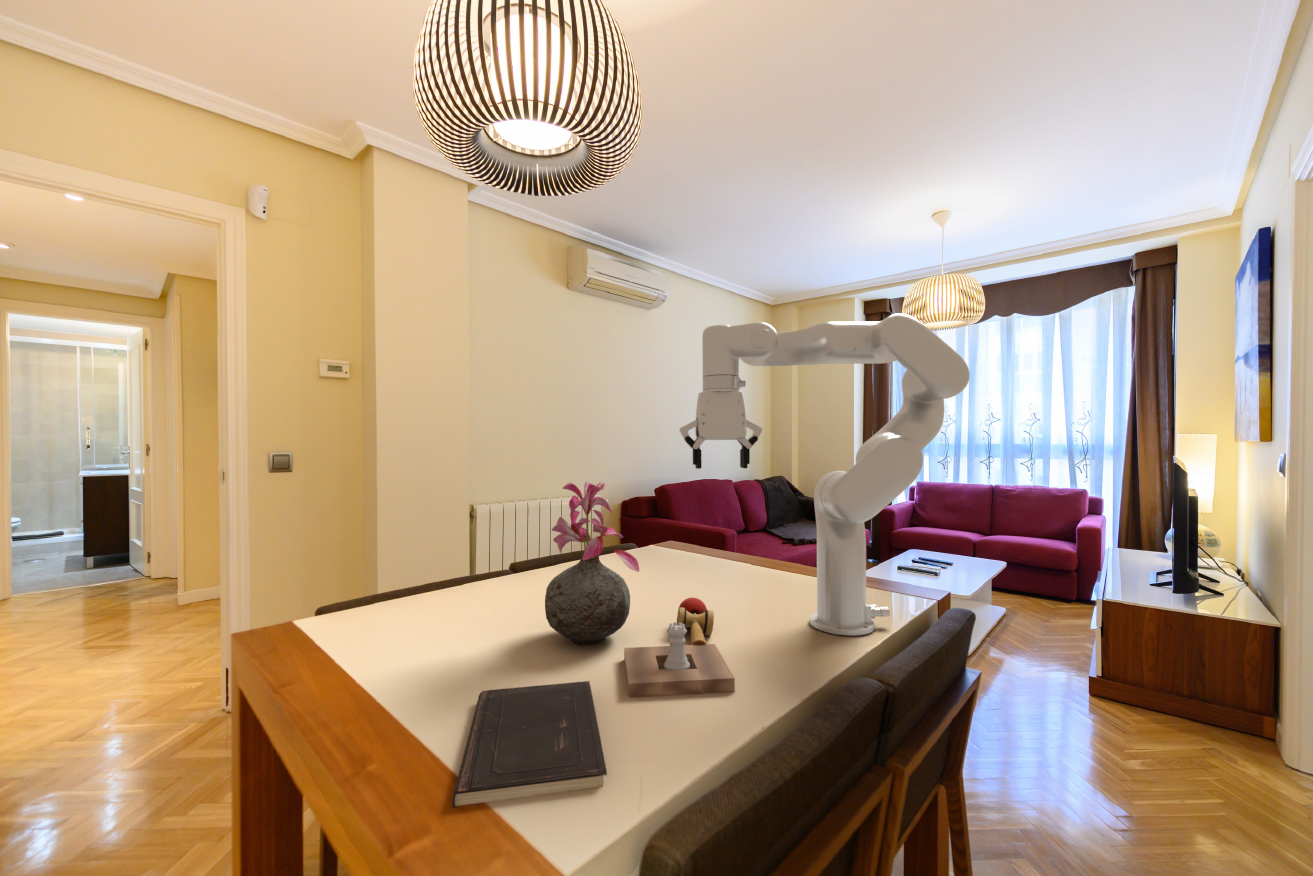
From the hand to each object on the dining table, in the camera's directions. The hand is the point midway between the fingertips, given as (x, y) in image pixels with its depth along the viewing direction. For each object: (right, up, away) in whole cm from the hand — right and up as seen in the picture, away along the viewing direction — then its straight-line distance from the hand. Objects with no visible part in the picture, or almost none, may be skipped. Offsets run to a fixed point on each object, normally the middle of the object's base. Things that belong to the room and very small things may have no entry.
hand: (721, 468), depth 112 cm
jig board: (-10, -32, -25) cm, 42 cm away
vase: (-26, -33, -8) cm, 43 cm away
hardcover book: (-29, -33, -44) cm, 62 cm away
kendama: (-6, -33, -8) cm, 34 cm away
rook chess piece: (-10, -32, -24) cm, 42 cm away
